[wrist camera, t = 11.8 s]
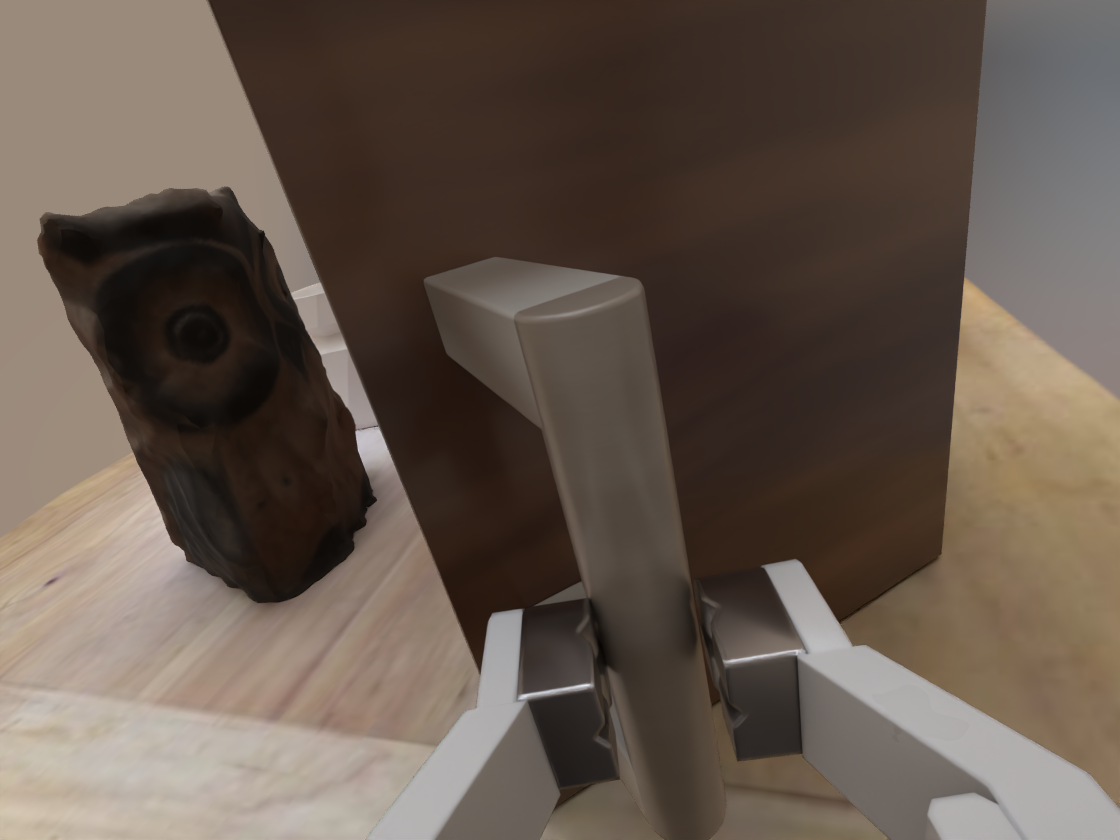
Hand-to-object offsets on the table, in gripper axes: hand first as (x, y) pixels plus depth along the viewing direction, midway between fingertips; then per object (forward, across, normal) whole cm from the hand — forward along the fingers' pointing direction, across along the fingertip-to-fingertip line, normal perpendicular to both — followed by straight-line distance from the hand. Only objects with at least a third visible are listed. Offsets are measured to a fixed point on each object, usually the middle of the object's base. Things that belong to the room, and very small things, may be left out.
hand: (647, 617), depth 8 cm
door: (+5, -5, +11) cm, 13 cm away
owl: (+23, +21, +11) cm, 33 cm away
